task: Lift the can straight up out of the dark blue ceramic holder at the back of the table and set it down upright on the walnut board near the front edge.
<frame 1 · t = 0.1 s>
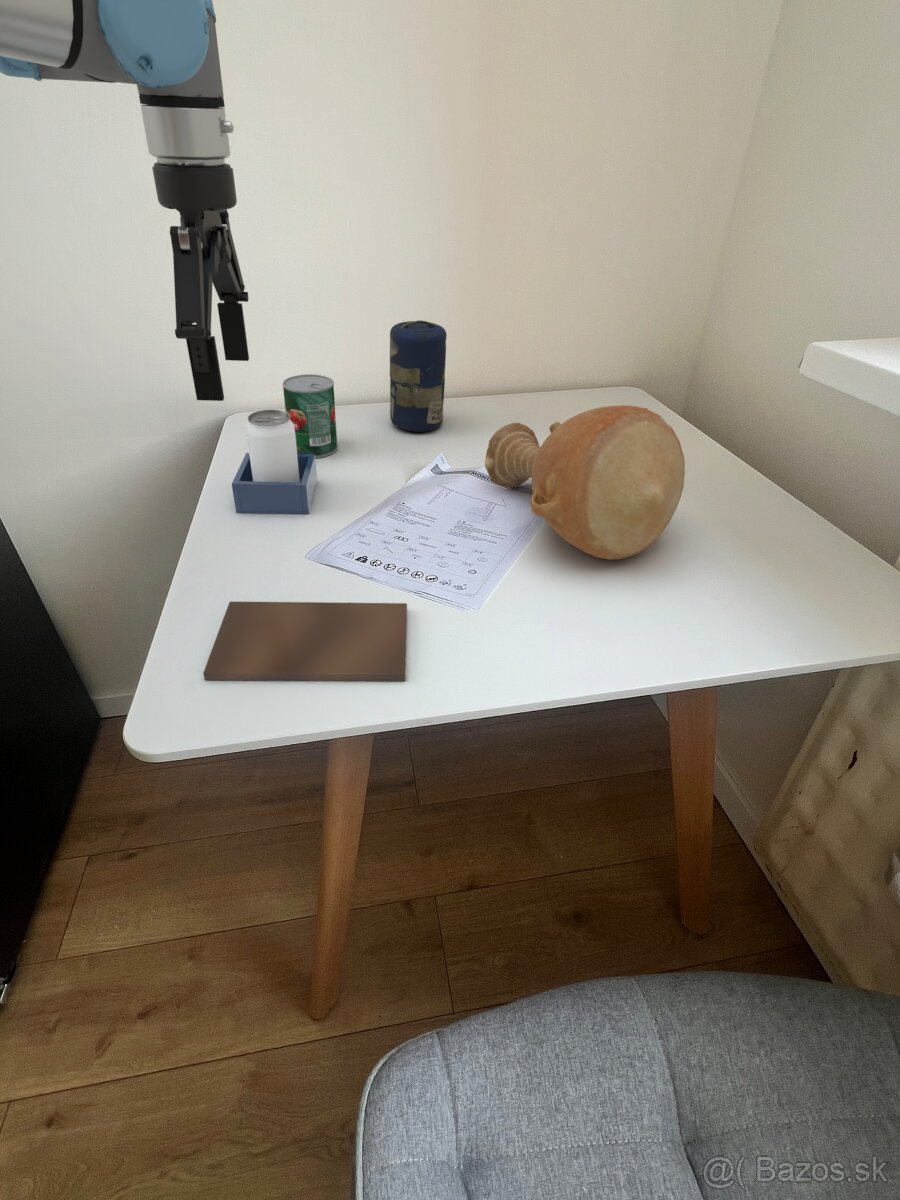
hand: (225, 378, 80), 21 cm above the table, tool pointing down, fingers open, 13 cm apart
canned tomato: (313, 449, 115), on the table
holder: (278, 496, 101), on the table
jug: (571, 523, 99), on the table
canister: (416, 426, 125), on the table
can: (278, 497, 101), resting in holder
board: (313, 642, 75), on the table
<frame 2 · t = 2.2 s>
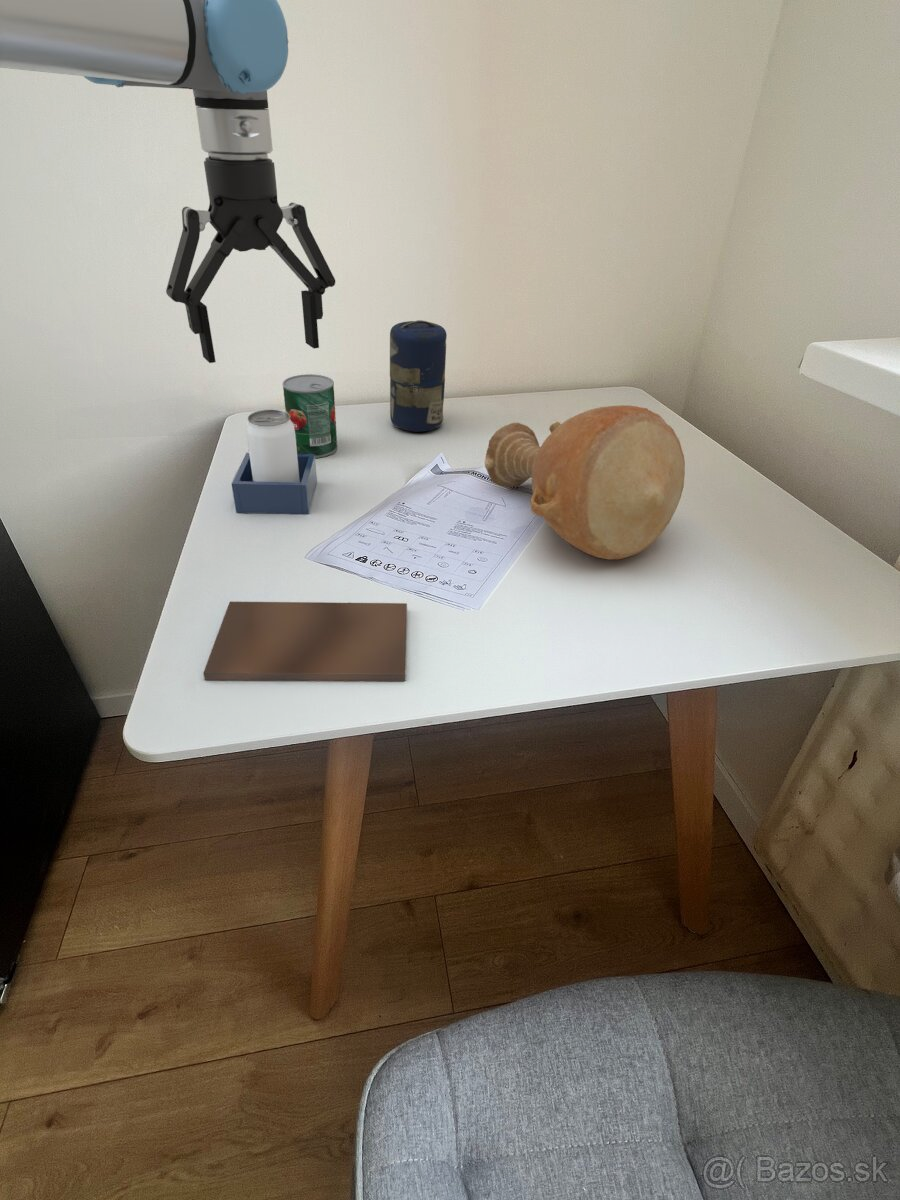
hand: (262, 352, 89), 21 cm above the table, tool pointing down, fingers open, 13 cm apart
nothing on the table moved.
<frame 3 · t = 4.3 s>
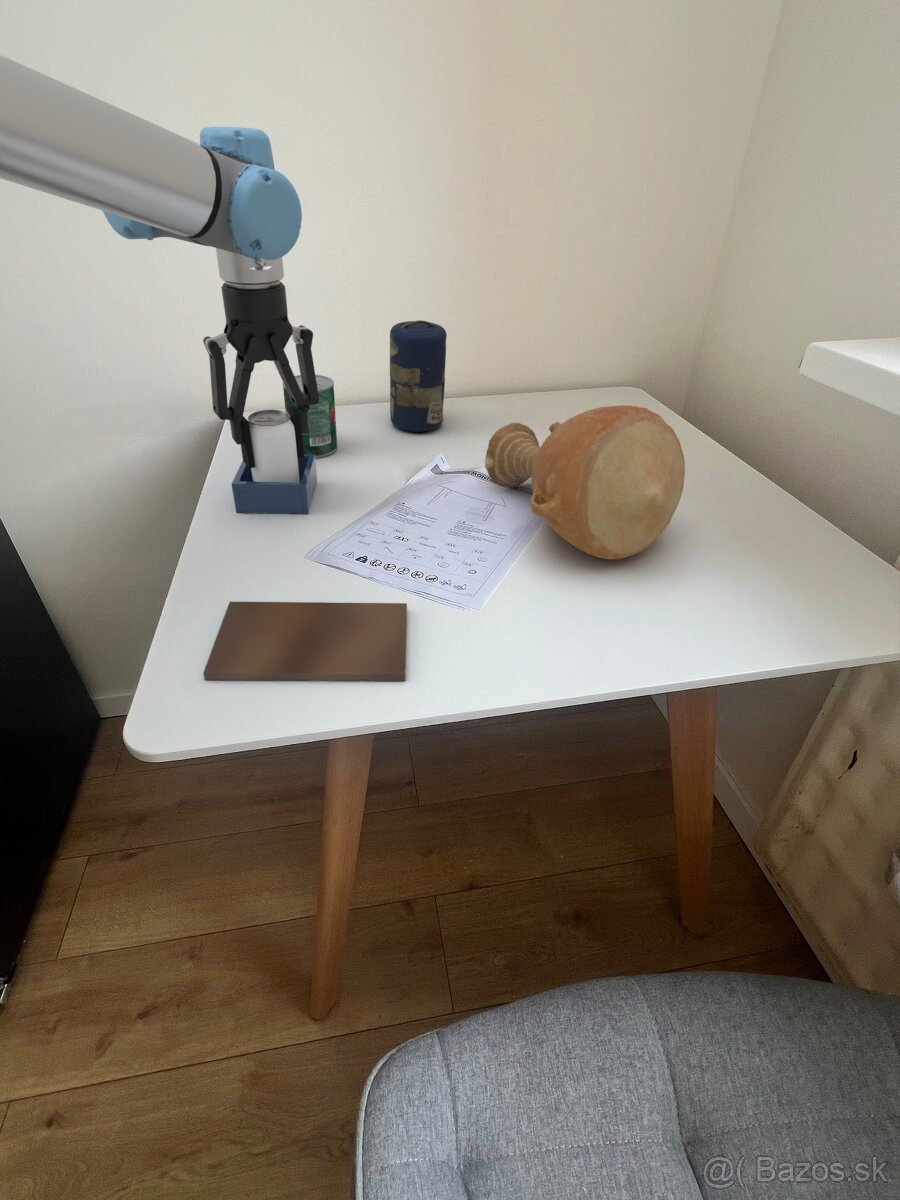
hand: (273, 458, 98), 6 cm above the table, tool pointing down, fingers closed on can, 6 cm apart
can: (278, 497, 101), resting in holder, touching gripper
everything else where it was.
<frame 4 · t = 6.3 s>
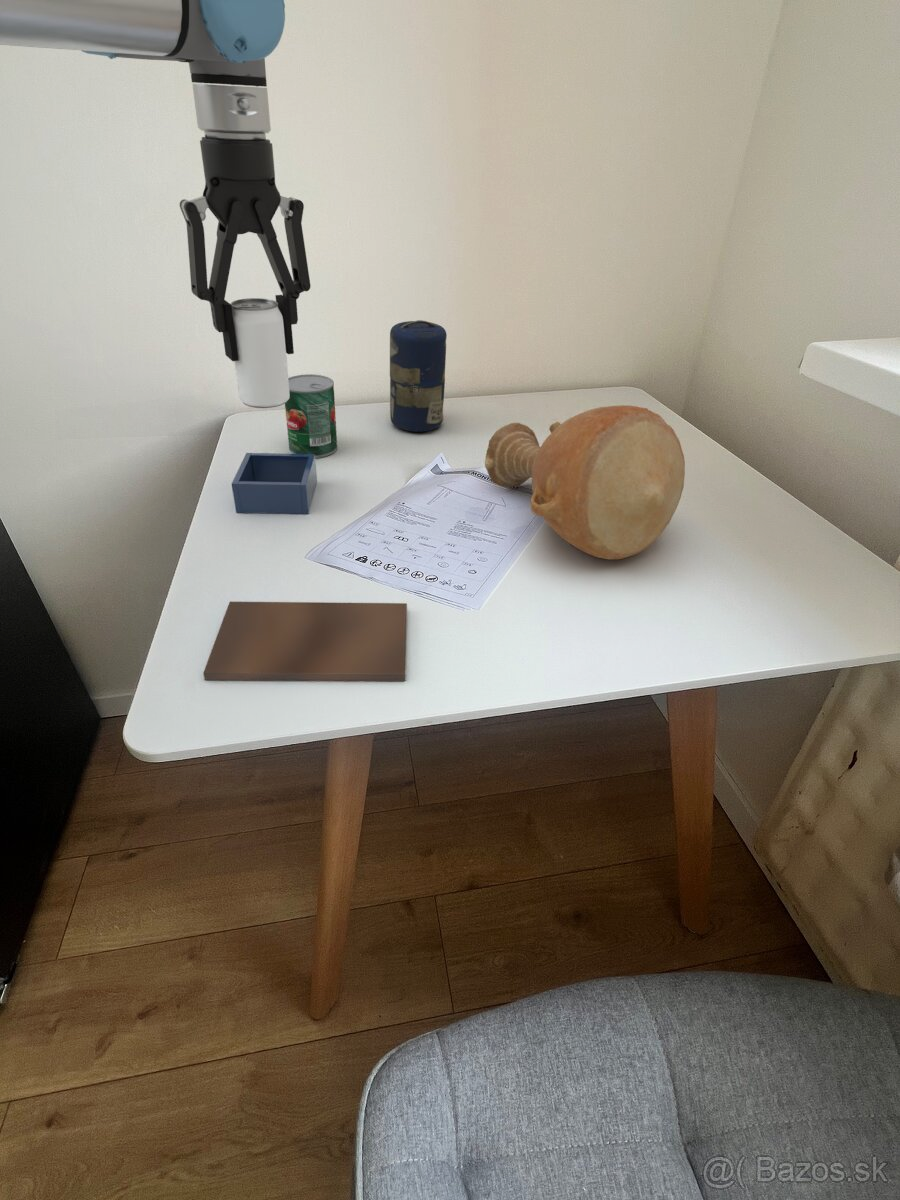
hand: (260, 354, 88), 21 cm above the table, tool pointing down, fingers closed on can, 6 cm apart
can: (265, 401, 92), point 15 cm above the table, touching gripper
everything else where it was.
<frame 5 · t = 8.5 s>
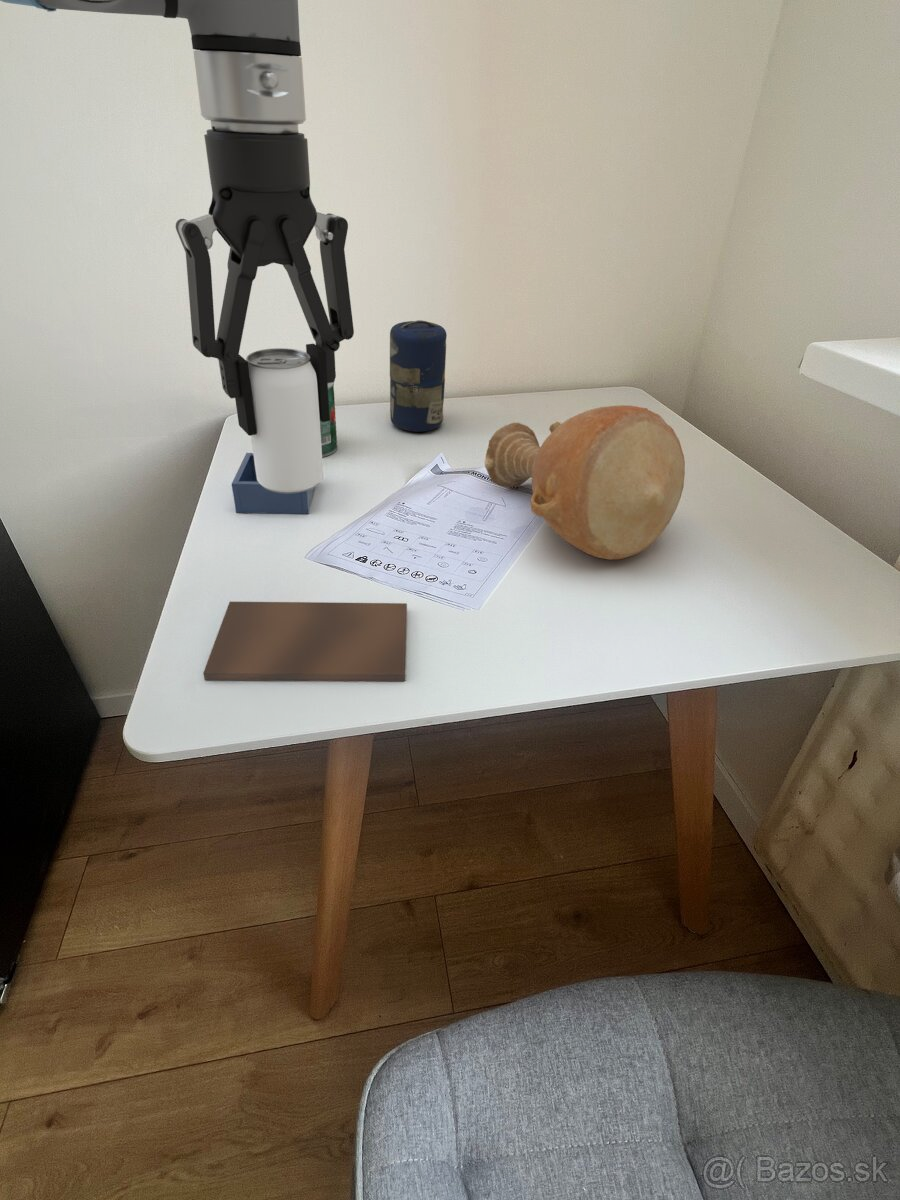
hand: (284, 422, 66), 23 cm above the table, tool pointing down, fingers closed on can, 6 cm apart
can: (290, 481, 69), point 17 cm above the table, touching gripper
everything else where it was.
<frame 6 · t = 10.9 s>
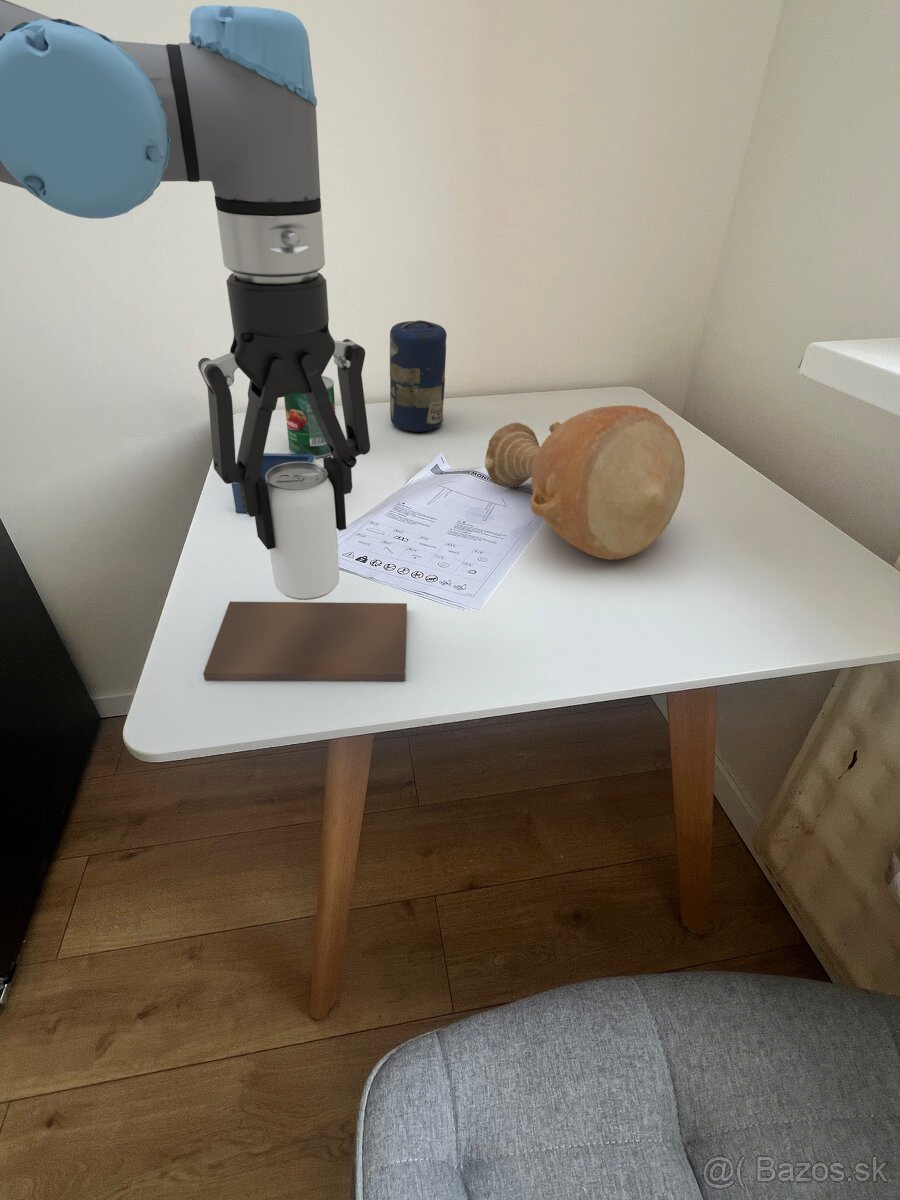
hand: (302, 532, 67), 14 cm above the table, tool pointing down, fingers closed on can, 6 cm apart
can: (307, 584, 70), point 8 cm above the table, touching gripper
everything else where it was.
when the fingers open (7 cm above the table, at t = 12.8 s): can stays where it is, resting on board.
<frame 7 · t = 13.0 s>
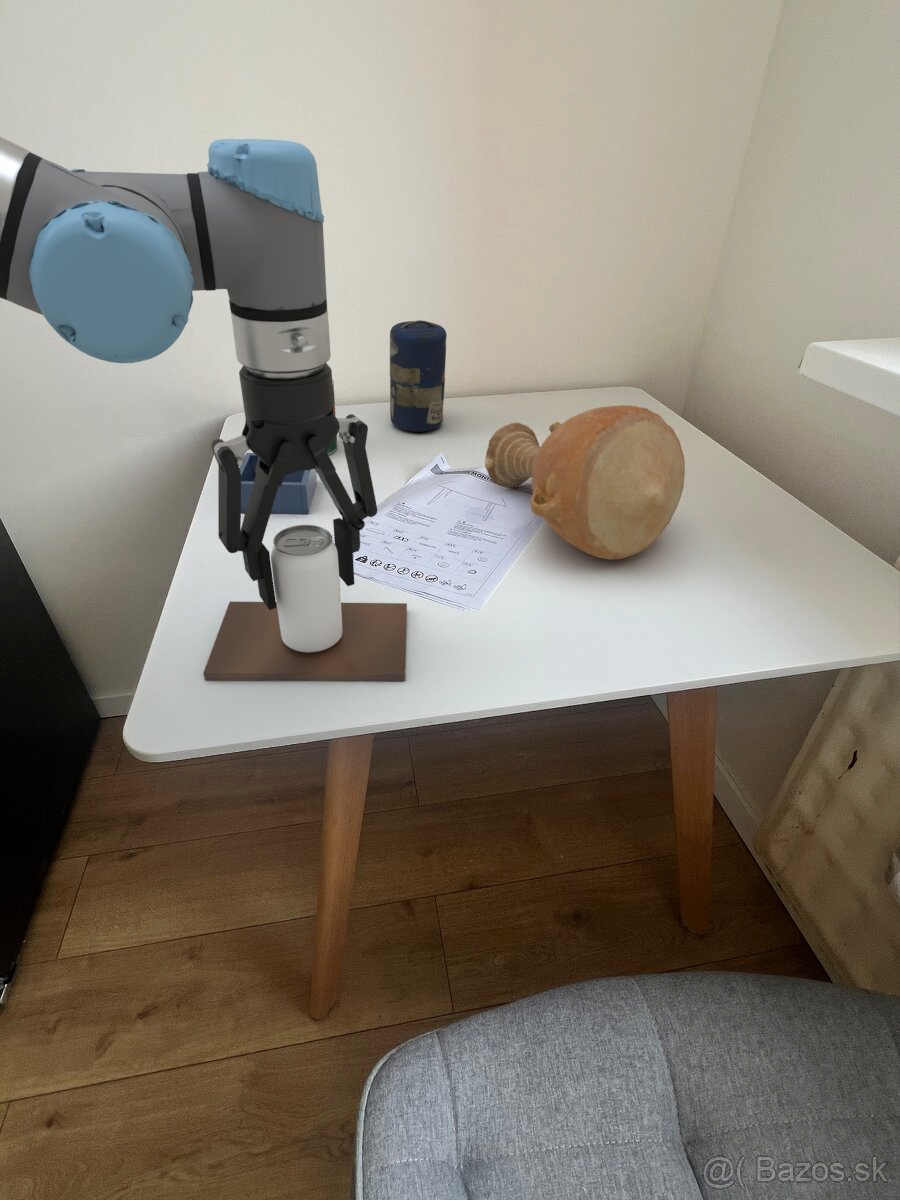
hand: (307, 589, 71), 7 cm above the table, tool pointing down, fingers open, 8 cm apart
can: (312, 636, 74), point 1 cm above the table, touching board
everything else where it was.
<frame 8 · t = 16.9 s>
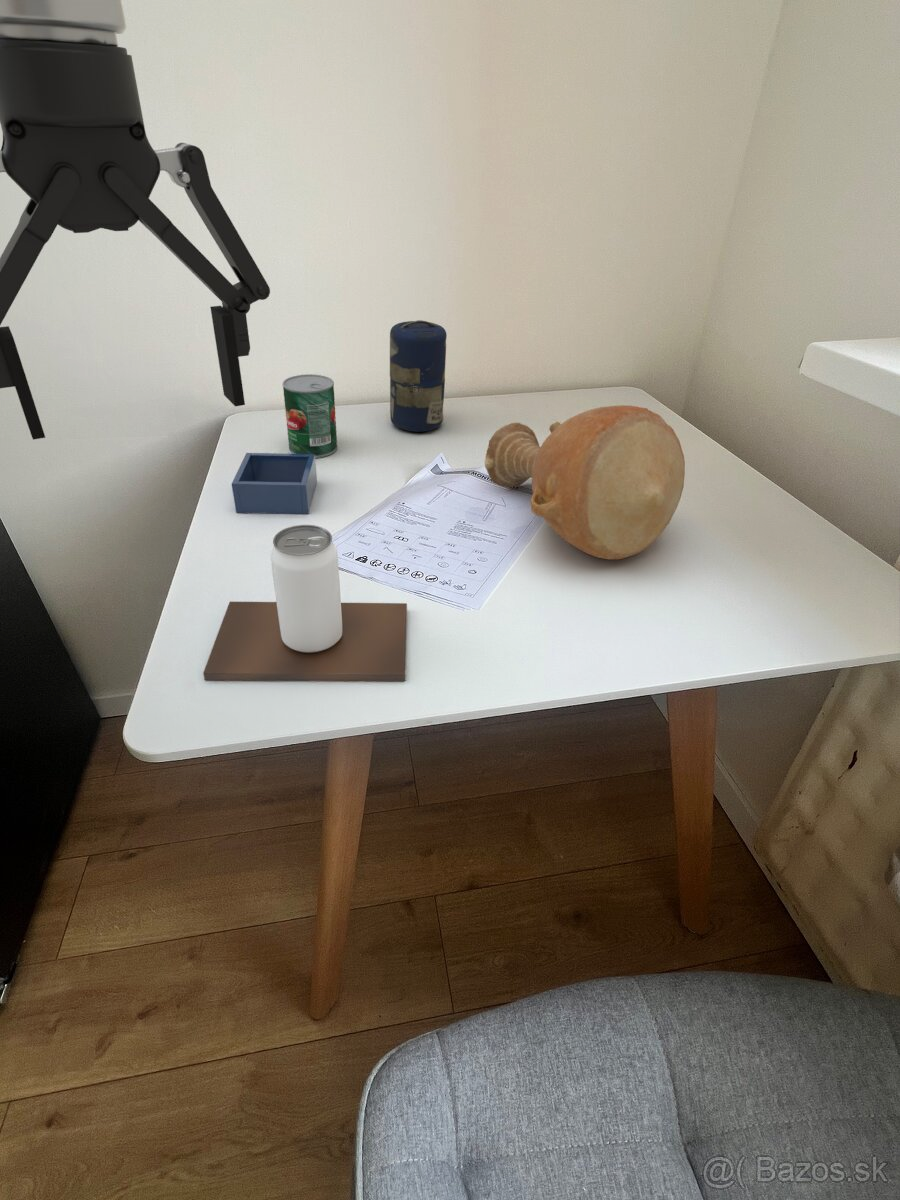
hand: (141, 415, 50), 29 cm above the table, tool pointing down, fingers open, 13 cm apart
nothing on the table moved.
at the end: can inside the target area on the board (0.0 cm from its centre), point 0.8 cm above the board's base; can tilted 0°; the gripper is holding nothing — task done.
